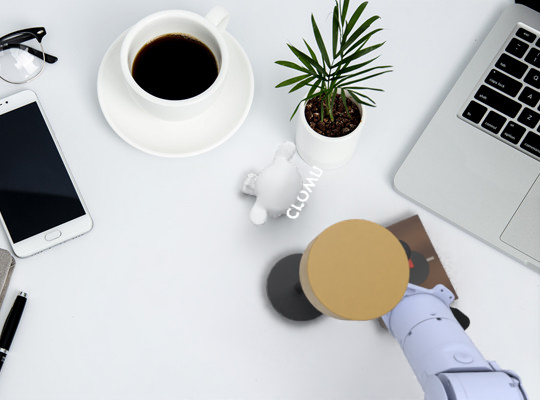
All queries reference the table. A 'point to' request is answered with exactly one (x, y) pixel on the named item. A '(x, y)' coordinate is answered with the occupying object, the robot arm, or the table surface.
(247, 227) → the table surface
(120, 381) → the table surface
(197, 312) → the table surface
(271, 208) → the figurine
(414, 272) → the dial knob
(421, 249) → the dial panel
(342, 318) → the desk lamp
